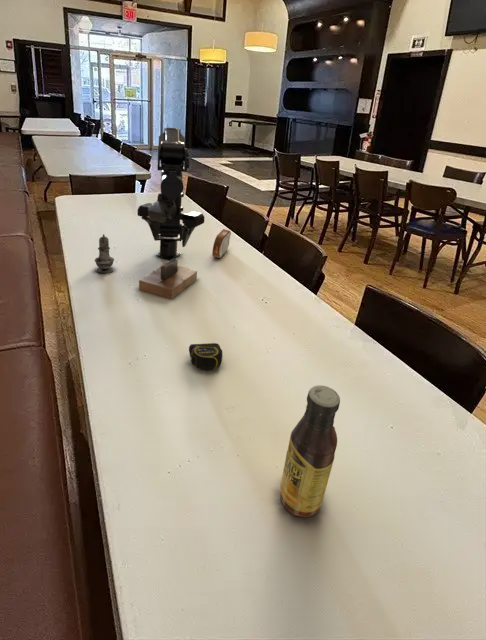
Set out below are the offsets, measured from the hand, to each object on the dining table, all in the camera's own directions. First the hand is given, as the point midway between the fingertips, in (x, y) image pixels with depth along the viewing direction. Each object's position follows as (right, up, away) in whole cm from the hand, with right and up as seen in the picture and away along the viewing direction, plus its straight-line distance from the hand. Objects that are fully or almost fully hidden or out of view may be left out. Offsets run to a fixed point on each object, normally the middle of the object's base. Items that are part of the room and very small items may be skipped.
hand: (169, 243), depth 119 cm
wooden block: (-1, -12, +5) cm, 13 cm away
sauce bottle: (+27, -40, -58) cm, 75 cm away
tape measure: (+11, -27, -29) cm, 41 cm away
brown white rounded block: (+15, -3, +31) cm, 35 cm away
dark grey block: (-1, -9, +4) cm, 10 cm away
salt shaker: (-22, -8, +11) cm, 26 cm away
